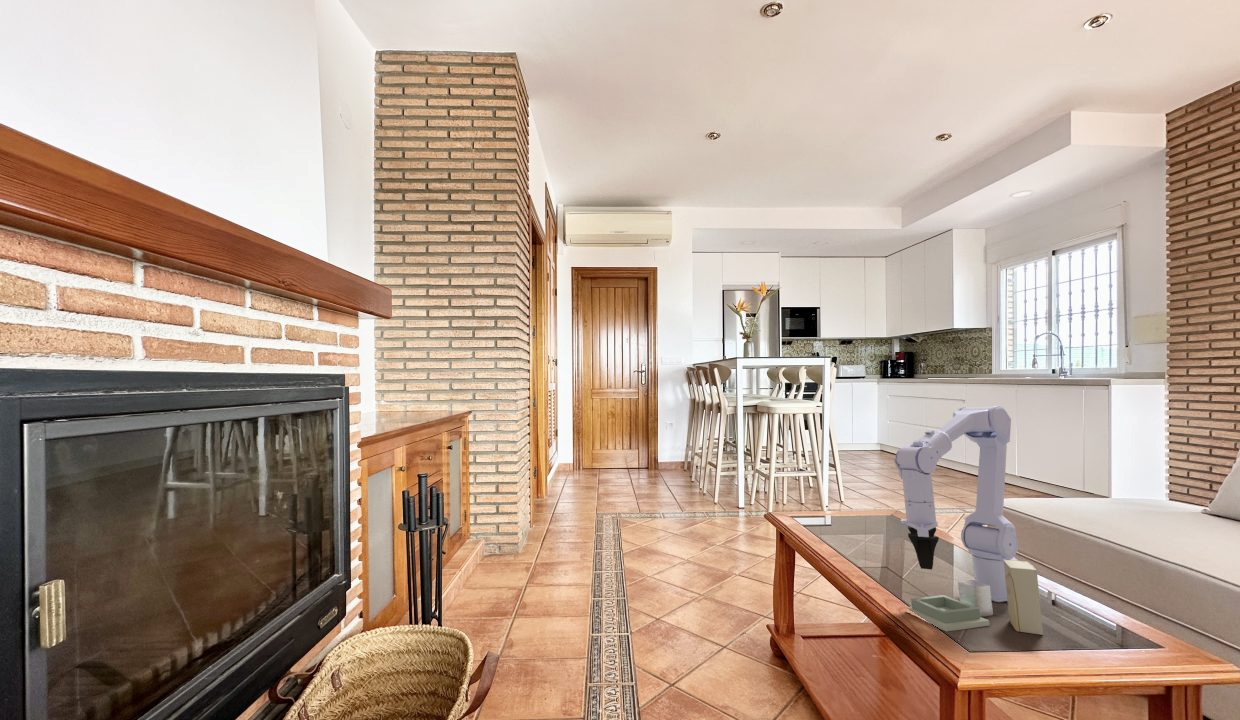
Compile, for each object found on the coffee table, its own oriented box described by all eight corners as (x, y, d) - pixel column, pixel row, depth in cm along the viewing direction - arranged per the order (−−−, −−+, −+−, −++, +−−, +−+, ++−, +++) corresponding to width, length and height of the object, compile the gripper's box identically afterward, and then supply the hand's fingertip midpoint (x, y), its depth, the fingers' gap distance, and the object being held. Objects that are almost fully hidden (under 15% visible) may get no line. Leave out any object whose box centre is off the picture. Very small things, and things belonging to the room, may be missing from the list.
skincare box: (1008, 620, 102) (1001, 558, 104) (1036, 624, 100) (1028, 561, 102) (1016, 632, 97) (1008, 566, 98) (1045, 636, 95) (1037, 569, 96)
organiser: (945, 607, 110) (943, 592, 110) (989, 625, 100) (987, 609, 100) (904, 612, 108) (903, 597, 108) (946, 631, 98) (944, 615, 98)
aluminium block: (975, 608, 109) (972, 579, 110) (993, 615, 105) (989, 585, 106) (960, 610, 108) (957, 581, 109) (977, 617, 104) (974, 587, 105)
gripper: (899, 495, 120) (904, 554, 118) (898, 505, 107) (905, 570, 106) (933, 496, 116) (939, 557, 115) (937, 506, 104) (944, 574, 102)
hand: (925, 564), depth 110 cm, fingers open, 7 cm apart
